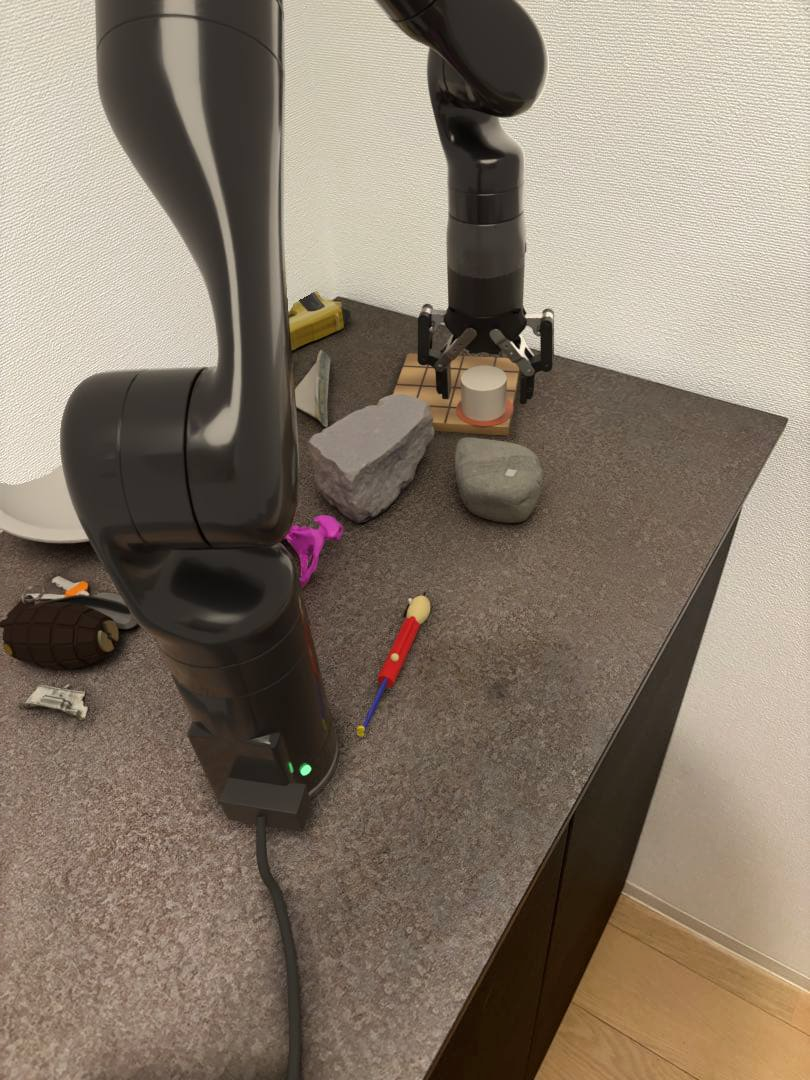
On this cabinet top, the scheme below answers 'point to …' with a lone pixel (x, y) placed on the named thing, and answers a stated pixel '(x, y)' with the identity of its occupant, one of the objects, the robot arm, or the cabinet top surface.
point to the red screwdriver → (399, 650)
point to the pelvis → (313, 542)
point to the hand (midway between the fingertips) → (485, 397)
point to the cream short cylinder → (483, 393)
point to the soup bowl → (40, 510)
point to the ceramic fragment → (315, 390)
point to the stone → (497, 479)
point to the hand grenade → (60, 630)
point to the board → (457, 393)
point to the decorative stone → (371, 455)
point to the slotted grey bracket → (57, 700)
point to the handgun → (315, 319)
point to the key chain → (80, 589)
